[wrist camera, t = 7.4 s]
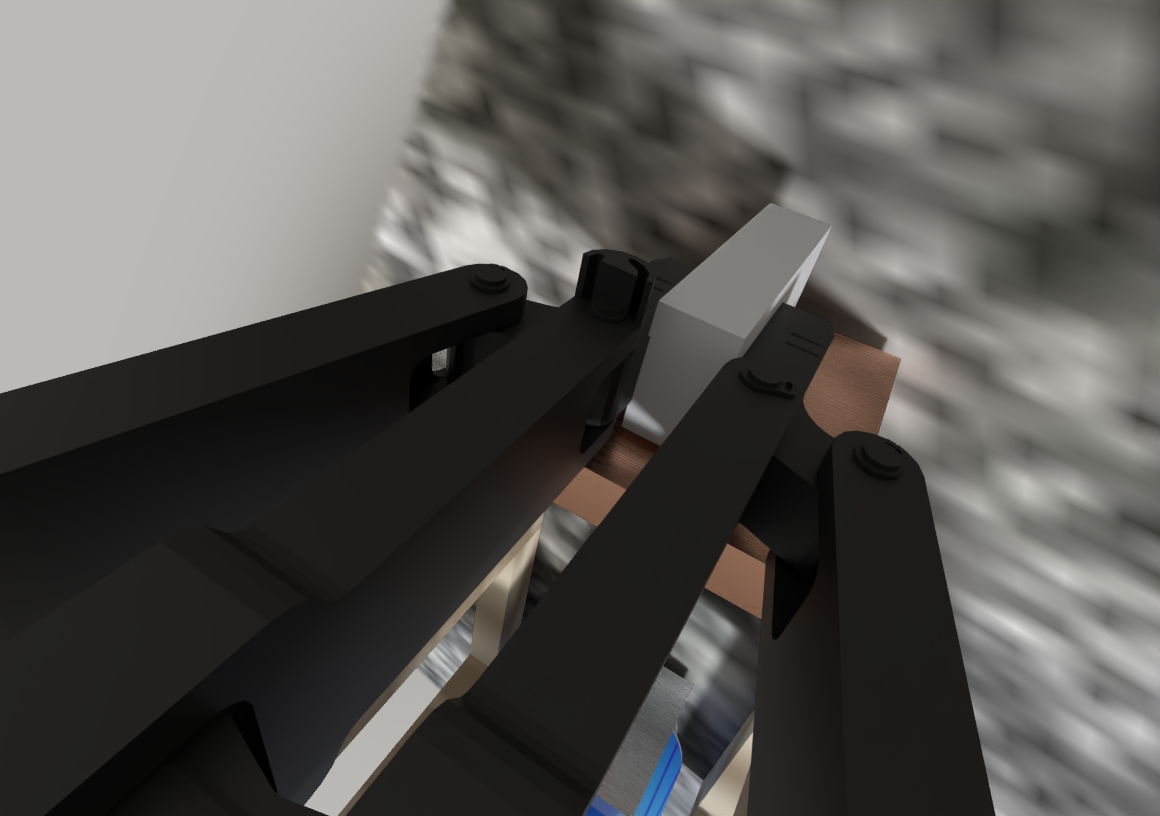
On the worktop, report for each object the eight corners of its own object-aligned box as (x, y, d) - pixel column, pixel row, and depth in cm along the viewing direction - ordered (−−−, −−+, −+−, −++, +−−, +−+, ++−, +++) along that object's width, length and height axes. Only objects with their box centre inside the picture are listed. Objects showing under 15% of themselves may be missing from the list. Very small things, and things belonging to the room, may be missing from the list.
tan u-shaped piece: (656, 259, 18) (463, 402, 12) (901, 359, 16) (827, 598, 10) (559, 616, 29) (433, 791, 23) (697, 703, 27) (601, 921, 21)
